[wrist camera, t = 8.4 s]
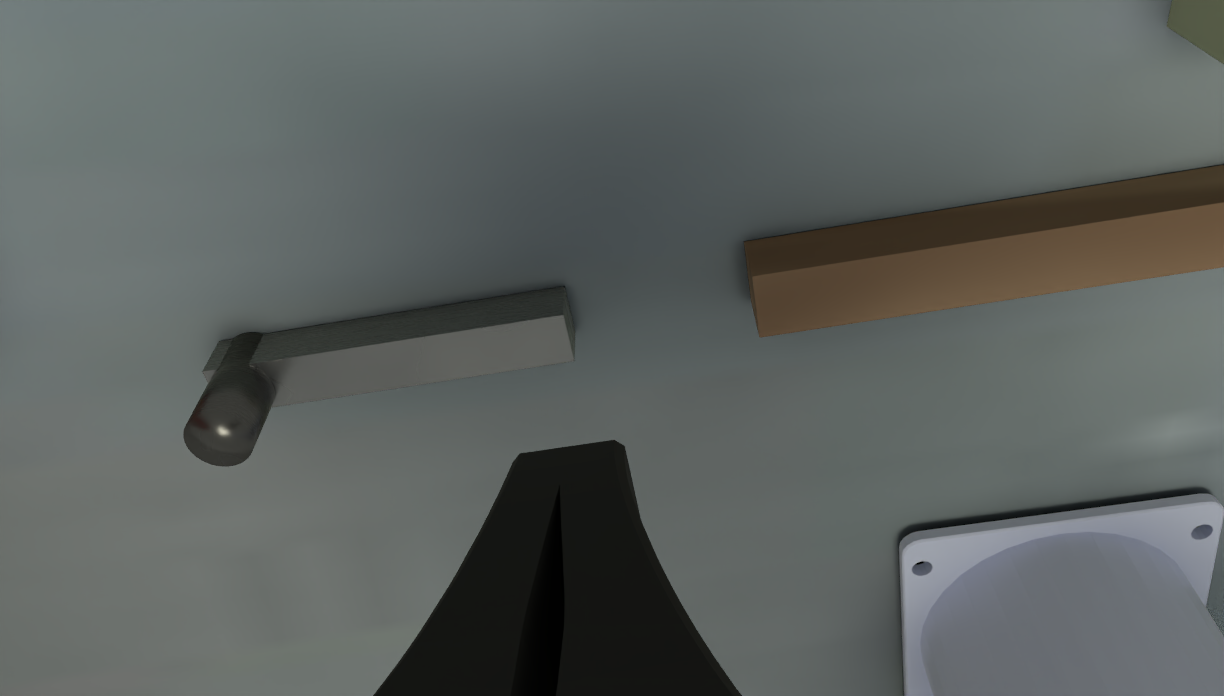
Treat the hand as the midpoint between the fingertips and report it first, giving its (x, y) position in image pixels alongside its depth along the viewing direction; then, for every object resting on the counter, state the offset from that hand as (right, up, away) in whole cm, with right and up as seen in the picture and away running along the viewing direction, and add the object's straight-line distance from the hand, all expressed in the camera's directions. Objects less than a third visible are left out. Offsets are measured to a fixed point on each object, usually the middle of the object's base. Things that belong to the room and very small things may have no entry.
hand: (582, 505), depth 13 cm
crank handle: (-4, +2, +10) cm, 11 cm away
